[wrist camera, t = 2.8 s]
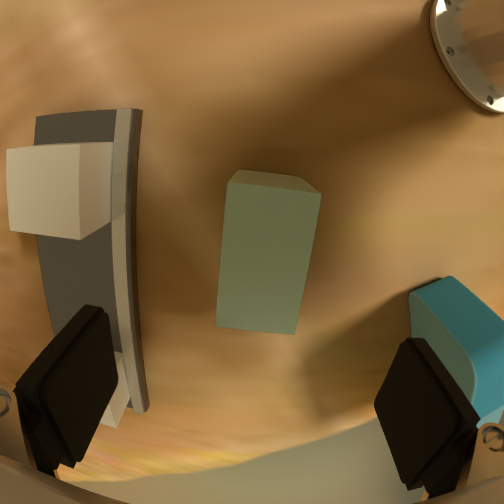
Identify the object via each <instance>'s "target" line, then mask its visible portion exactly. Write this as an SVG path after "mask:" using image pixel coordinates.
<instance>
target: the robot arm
mask: <svg viewBox="0 0 504 504" xmlns="http://www.w3.org/2000/svg"><path fill="white" fill-rule="evenodd" d="M430 28H431V32H432V37H433V41H434V43H435V46H436V49H437V52H438V54H439V56H440V58H441V60H442V62H443V65H444V66H445V68H446V69H447V71H448V73H449V74H450V76H451V77H452V79H453V80H454V81H455V83H456V84H457V85H458V87H459V88H460V89H461V90H462V91H463V92H464V93H465V94H466V95H467V97H468V98H470V99H471V100H472V101H473V102H475V103H476V104H477V105H479V106H480V107H482V108H484V109H486V110H488V111H491V112H494V113H504V0H435V1H434V3H433V5H432V7H431V12H430ZM118 380H119V377H118V371H117V366H116V360H115V354H114V348H113V342H112V335H111V328H110V320H109V315H108V313H105V312H104V309H103V308H102V307H99V306H94V305H89V304H85V305H84V306H83V307H82V308H81V309H80V310H79V311H78V312H77V313H76V314H75V315H74V316H73V318H72V319H71V320H70V321H69V322H68V323H67V324H66V325H65V326H64V327H63V329H62V330H61V331H60V332H59V333H58V334H57V335H56V336H55V337H54V339H53V340H52V341H51V342H50V343H49V344H48V345H47V347H46V348H45V349H44V350H43V351H42V352H41V354H40V355H39V356H38V357H37V358H36V359H35V361H34V362H33V363H32V364H31V365H30V367H29V368H28V369H27V370H26V371H25V373H24V374H23V375H22V376H21V378H20V379H19V380H18V381H17V383H16V387H15V389H14V390H13V391H12V390H11V389H10V388H9V387H7V386H5V385H1V384H0V504H129V503H126V502H122V501H118V500H115V499H112V498H109V497H106V496H103V495H100V494H96V493H93V492H90V491H88V490H85V489H82V488H79V487H77V486H74V485H71V484H69V483H66V482H64V481H61V480H60V478H59V475H58V472H57V470H56V469H57V468H58V466H59V464H60V463H61V464H63V465H66V466H68V467H71V468H73V469H74V466H75V464H76V462H81V461H82V459H83V457H84V455H85V453H86V451H87V448H88V446H89V444H90V442H91V440H92V437H93V435H94V433H95V431H96V429H97V427H98V425H99V423H100V420H101V418H102V416H103V414H104V412H105V410H106V408H107V406H108V404H109V402H110V400H111V398H112V396H113V394H114V392H115V390H116V388H117V385H118ZM374 408H375V411H376V414H377V416H378V419H379V421H380V424H381V427H382V429H383V432H384V435H385V437H386V440H387V443H388V445H389V448H390V451H391V454H392V456H393V459H394V462H395V465H396V468H397V471H398V473H399V476H400V479H401V481H402V483H404V484H406V487H407V490H408V491H409V490H413V489H417V488H421V487H422V486H423V485H424V486H425V489H426V490H425V492H424V495H423V497H422V499H421V502H417V503H414V504H504V427H502V426H501V425H499V424H497V423H492V422H489V423H485V424H483V425H482V426H481V427H480V428H479V429H478V428H477V426H476V425H477V424H478V422H479V421H480V420H481V418H480V417H479V415H478V414H477V412H476V411H475V409H474V408H473V406H472V405H471V403H470V402H469V400H468V399H467V397H466V396H465V394H464V393H463V391H462V390H461V388H460V387H459V385H458V384H457V383H456V381H455V380H454V378H453V377H452V375H451V374H450V373H449V371H448V370H447V368H446V367H445V366H444V364H443V363H442V362H441V360H440V359H439V357H438V356H437V355H436V353H435V352H434V351H433V349H432V348H431V347H430V345H429V344H428V343H427V341H426V340H425V339H424V338H407V339H406V340H405V341H404V342H402V343H401V344H400V346H399V349H398V351H397V353H396V356H395V358H394V360H393V362H392V365H391V367H390V369H389V371H388V374H387V376H386V378H385V380H384V382H383V384H382V386H381V388H380V390H379V392H378V394H377V396H376V398H375V402H374Z"/></svg>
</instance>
